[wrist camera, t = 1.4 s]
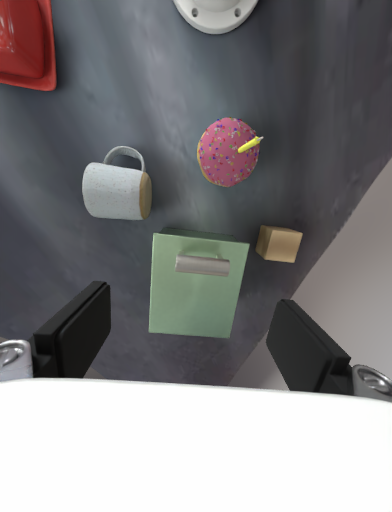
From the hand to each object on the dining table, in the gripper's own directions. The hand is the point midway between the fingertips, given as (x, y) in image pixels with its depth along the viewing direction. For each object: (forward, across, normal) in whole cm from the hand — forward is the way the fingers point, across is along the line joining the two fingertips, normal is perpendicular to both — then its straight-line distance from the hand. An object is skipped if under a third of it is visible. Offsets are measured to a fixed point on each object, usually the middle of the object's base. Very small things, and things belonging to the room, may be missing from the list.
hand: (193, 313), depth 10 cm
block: (+25, -15, 0) cm, 29 cm away
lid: (+16, -1, +7) cm, 17 cm away
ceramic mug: (+25, +12, -7) cm, 28 cm away
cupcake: (+25, -4, -12) cm, 28 cm away
